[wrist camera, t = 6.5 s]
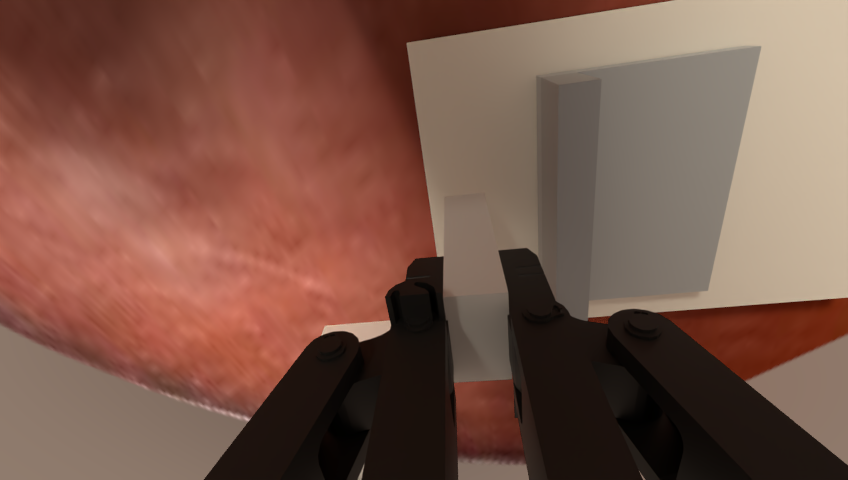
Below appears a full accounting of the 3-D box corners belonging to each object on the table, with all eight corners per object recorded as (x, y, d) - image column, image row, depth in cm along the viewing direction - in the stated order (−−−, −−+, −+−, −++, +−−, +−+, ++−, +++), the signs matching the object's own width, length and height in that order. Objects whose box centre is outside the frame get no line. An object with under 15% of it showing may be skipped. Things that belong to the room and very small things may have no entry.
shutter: (538, 294, 19) (555, 340, 16) (536, 75, 14) (558, 85, 11) (697, 280, 18) (745, 326, 15) (744, 45, 14) (824, 47, 11)
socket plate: (447, 304, 22) (447, 328, 20) (410, 42, 16) (406, 42, 14) (828, 272, 20) (866, 296, 18) (947, -43, 14) (1020, -55, 12)
